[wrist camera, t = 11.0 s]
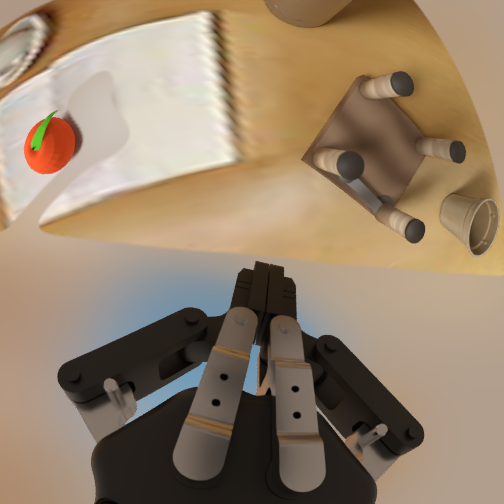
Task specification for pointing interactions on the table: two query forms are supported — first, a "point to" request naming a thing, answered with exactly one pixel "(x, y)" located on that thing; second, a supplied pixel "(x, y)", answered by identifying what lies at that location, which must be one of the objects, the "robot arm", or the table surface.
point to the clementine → (49, 145)
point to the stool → (375, 140)
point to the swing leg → (389, 213)
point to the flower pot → (471, 221)
